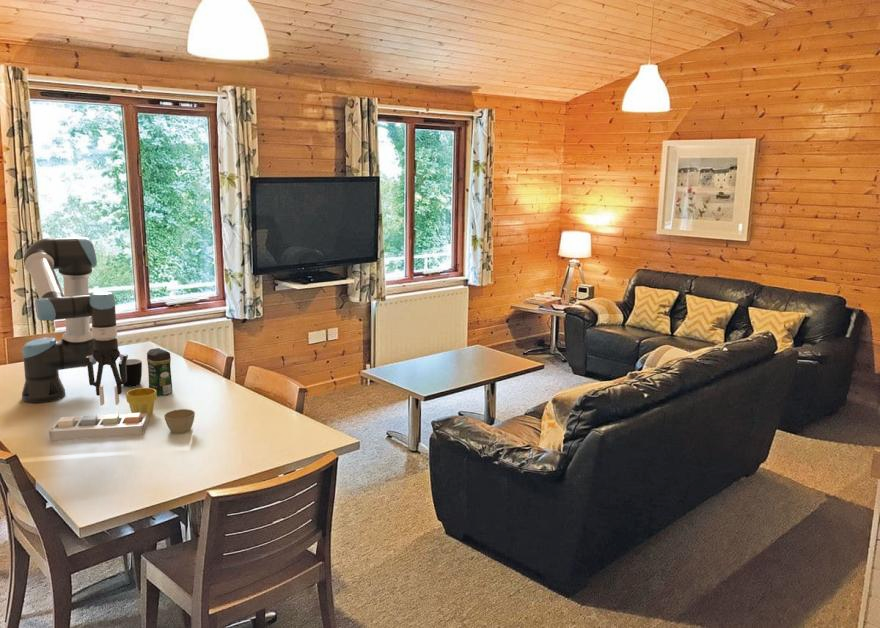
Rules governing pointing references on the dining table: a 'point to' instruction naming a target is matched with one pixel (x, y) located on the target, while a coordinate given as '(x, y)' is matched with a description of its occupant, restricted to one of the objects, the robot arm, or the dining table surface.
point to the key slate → (89, 420)
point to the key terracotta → (132, 418)
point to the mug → (132, 372)
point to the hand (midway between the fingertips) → (110, 403)
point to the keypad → (99, 429)
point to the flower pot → (179, 420)
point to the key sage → (111, 419)
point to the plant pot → (142, 400)
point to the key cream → (66, 422)
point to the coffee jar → (159, 371)
